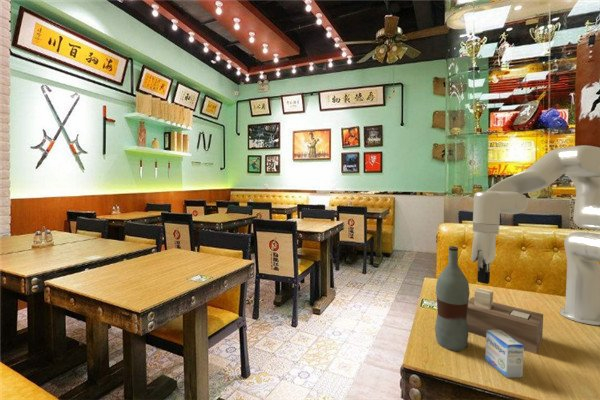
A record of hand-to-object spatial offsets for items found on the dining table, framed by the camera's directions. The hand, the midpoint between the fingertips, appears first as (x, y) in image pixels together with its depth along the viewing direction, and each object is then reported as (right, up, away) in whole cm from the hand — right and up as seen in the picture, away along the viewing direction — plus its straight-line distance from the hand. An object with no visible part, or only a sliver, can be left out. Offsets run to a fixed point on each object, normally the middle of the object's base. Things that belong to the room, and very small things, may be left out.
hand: (483, 282), depth 99 cm
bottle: (-15, -17, -9) cm, 24 cm away
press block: (+4, -16, -3) cm, 17 cm away
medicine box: (-8, -17, -21) cm, 28 cm away
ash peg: (0, -11, +1) cm, 11 cm away
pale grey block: (+7, -16, -6) cm, 19 cm away
